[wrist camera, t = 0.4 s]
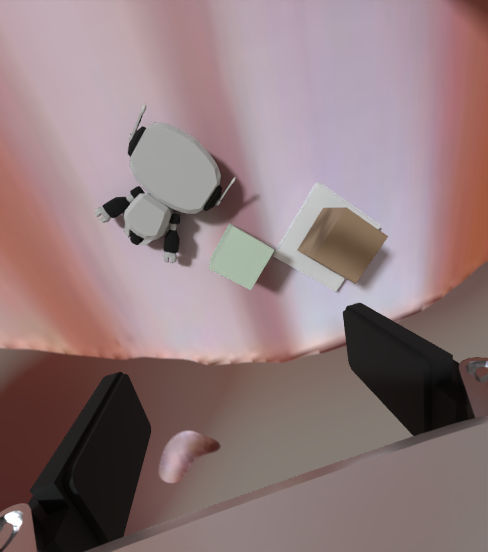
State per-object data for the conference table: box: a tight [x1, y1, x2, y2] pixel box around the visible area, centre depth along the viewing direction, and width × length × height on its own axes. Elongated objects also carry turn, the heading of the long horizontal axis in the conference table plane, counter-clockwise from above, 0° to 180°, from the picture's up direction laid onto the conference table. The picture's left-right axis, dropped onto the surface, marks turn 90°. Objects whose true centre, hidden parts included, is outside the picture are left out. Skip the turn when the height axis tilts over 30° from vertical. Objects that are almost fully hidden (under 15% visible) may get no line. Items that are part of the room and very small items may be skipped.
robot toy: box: [95, 104, 236, 263], centre depth 29 cm, size 12×4×15 cm
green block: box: [209, 223, 274, 290], centre depth 31 cm, size 6×6×6 cm
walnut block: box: [297, 207, 388, 283], centre depth 31 cm, size 7×7×6 cm
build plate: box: [272, 182, 381, 292], centre depth 35 cm, size 12×12×1 cm
